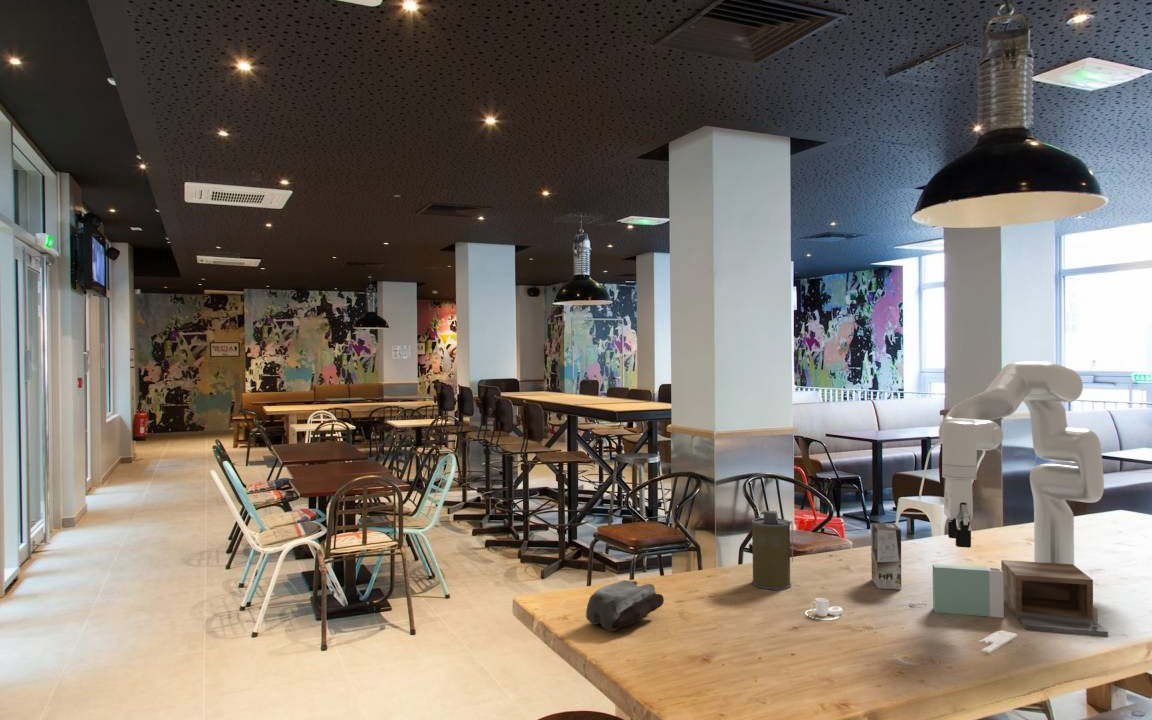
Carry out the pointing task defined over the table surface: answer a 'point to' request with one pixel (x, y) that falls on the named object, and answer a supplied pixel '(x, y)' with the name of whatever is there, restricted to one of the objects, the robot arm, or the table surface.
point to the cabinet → (1051, 597)
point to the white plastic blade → (997, 640)
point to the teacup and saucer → (825, 609)
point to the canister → (771, 551)
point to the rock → (622, 604)
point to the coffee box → (886, 555)
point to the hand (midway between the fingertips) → (959, 542)
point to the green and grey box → (968, 590)
